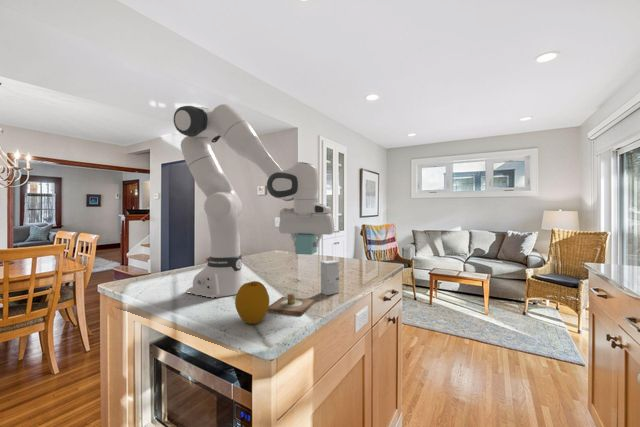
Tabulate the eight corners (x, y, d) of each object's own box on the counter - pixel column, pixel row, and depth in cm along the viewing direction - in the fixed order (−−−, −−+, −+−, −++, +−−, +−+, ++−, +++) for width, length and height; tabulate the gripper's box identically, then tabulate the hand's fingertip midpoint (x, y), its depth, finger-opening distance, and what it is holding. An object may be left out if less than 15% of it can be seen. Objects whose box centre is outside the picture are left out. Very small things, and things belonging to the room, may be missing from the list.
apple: (245, 314, 89) (245, 276, 89) (275, 316, 87) (274, 277, 86) (228, 327, 79) (228, 284, 79) (261, 329, 77) (260, 286, 77)
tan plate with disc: (266, 311, 91) (266, 298, 90) (282, 300, 102) (282, 288, 102) (301, 315, 87) (301, 301, 87) (314, 303, 98) (314, 290, 98)
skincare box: (326, 295, 107) (326, 263, 106) (320, 292, 110) (319, 261, 110) (339, 292, 110) (339, 261, 110) (332, 290, 114) (332, 259, 114)
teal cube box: (295, 253, 101) (295, 234, 101) (301, 251, 107) (301, 233, 107) (311, 254, 99) (311, 235, 99) (316, 252, 105) (316, 233, 105)
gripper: (275, 208, 103) (276, 246, 103) (330, 207, 97) (331, 248, 97) (283, 208, 109) (283, 244, 109) (335, 207, 103) (335, 246, 103)
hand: (306, 246), depth 103 cm, fingers closed on teal cube box, 6 cm apart
